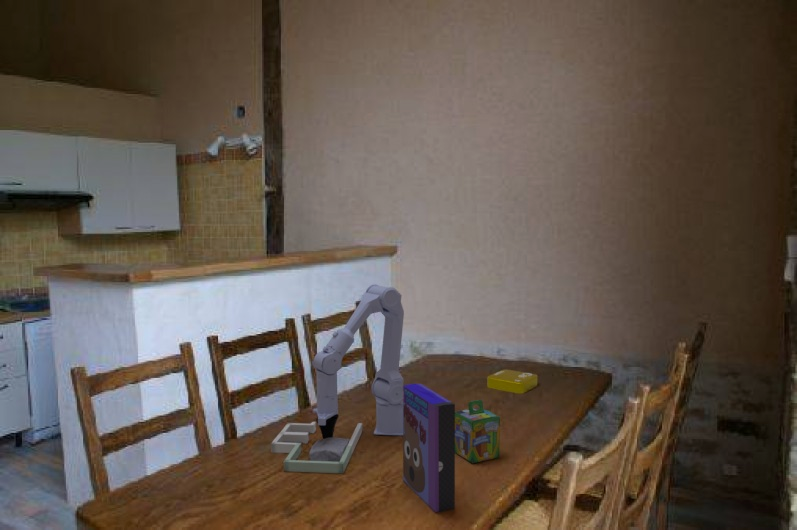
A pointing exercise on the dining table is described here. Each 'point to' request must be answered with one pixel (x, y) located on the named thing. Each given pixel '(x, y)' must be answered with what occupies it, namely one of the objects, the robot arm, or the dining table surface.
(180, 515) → the dining table surface
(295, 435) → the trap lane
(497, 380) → the element tile
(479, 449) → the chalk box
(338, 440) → the stone block
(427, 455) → the cereal box
